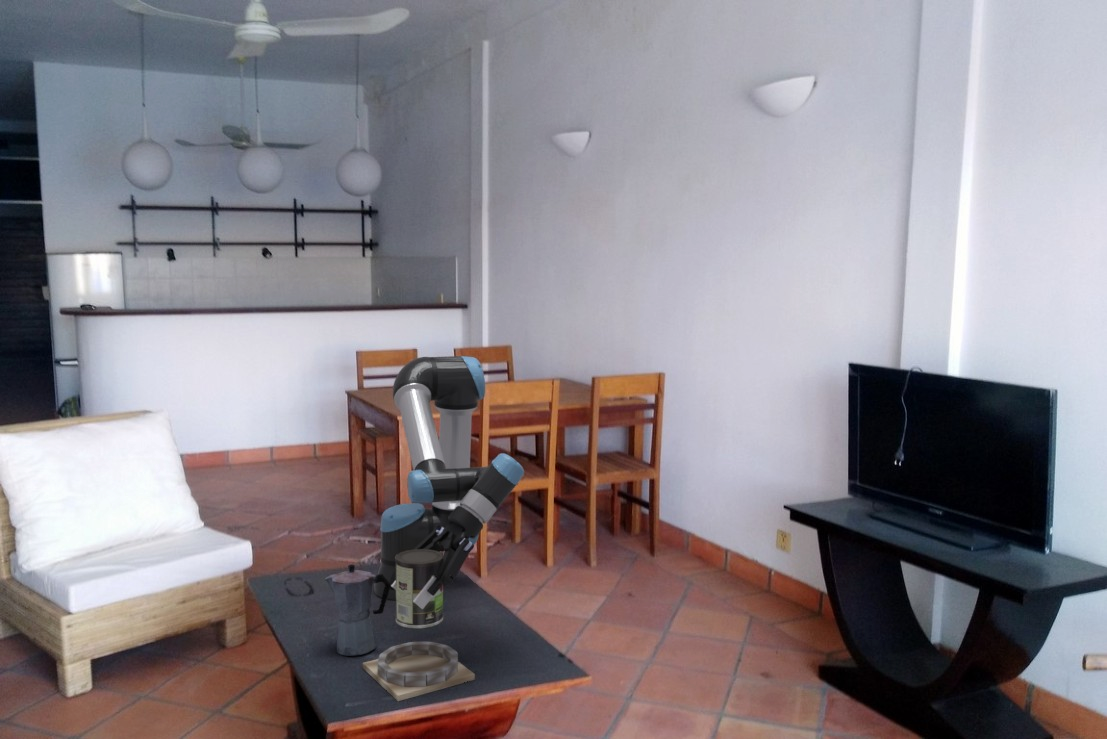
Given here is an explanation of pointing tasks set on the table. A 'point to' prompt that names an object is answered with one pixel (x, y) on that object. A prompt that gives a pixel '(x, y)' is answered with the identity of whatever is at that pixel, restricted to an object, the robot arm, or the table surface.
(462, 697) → the table surface
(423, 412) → the robot arm
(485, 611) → the table surface
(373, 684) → the table surface
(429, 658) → the ring board
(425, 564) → the coffee can
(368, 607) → the moka pot
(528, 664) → the table surface
